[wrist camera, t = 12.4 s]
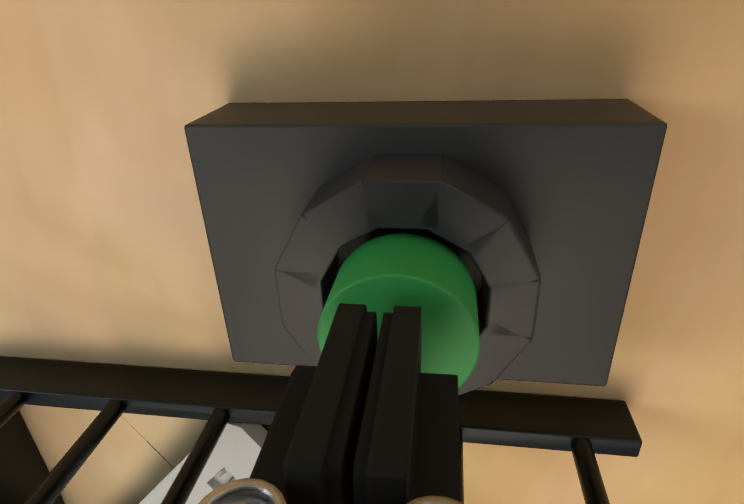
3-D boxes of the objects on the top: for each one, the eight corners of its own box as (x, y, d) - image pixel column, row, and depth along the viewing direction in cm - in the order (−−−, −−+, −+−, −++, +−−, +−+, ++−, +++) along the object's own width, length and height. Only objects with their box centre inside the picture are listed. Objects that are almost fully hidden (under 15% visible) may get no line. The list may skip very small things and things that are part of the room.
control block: (628, 98, 14) (708, 147, 10) (583, 328, 18) (627, 439, 13) (227, 102, 16) (141, 145, 11) (262, 312, 19) (207, 405, 15)
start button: (480, 234, 12) (485, 278, 10) (472, 355, 13) (475, 412, 12) (330, 230, 12) (309, 271, 10) (340, 347, 14) (324, 400, 12)
